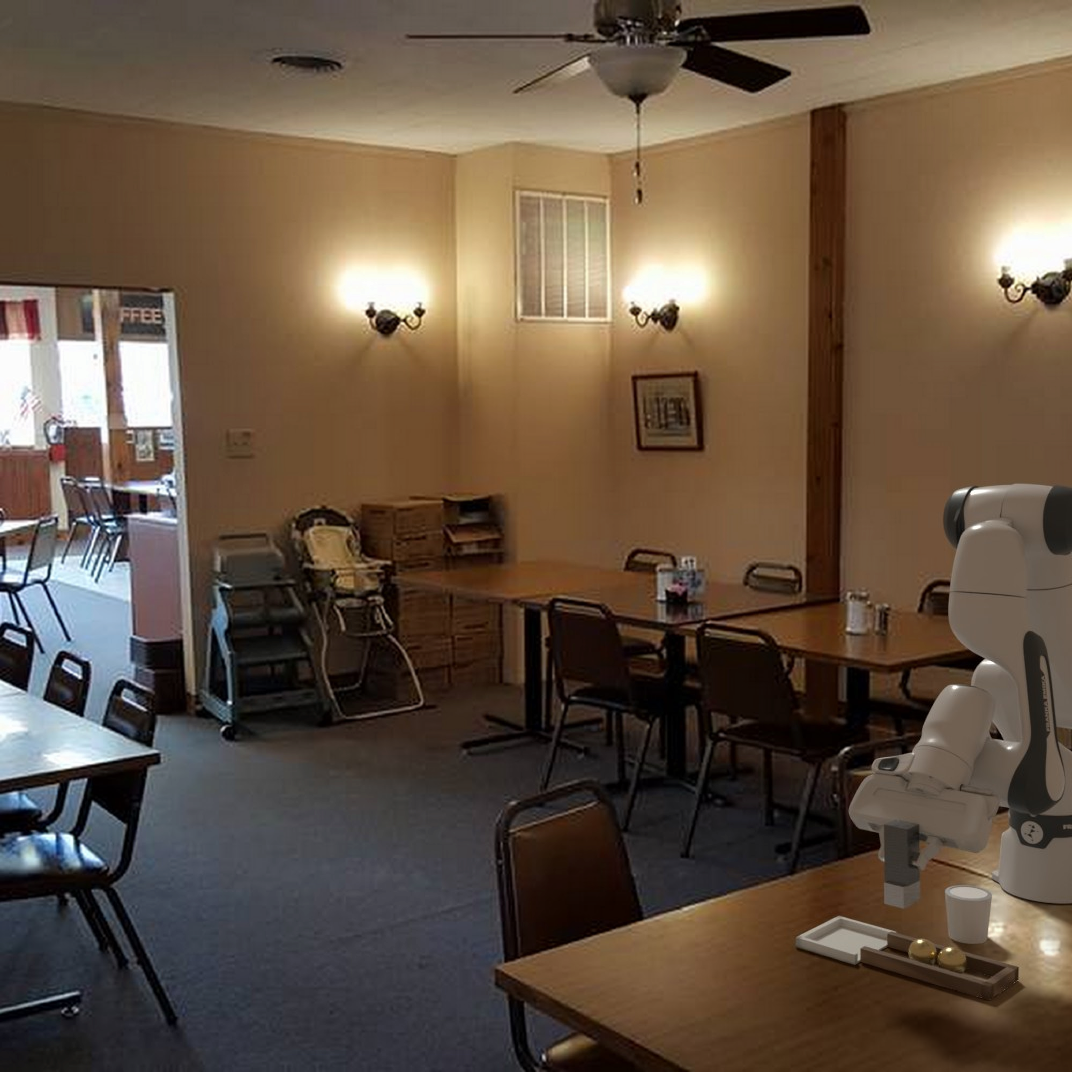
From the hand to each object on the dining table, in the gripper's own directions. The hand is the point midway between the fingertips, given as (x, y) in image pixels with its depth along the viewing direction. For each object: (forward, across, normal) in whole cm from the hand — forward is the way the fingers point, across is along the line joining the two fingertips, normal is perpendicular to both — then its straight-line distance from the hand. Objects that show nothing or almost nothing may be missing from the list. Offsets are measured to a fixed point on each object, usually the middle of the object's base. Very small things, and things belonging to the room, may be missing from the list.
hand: (899, 863), depth 182 cm
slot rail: (+7, -2, -17) cm, 19 cm away
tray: (+7, +13, -17) cm, 23 cm away
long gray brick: (+4, 0, -4) cm, 6 cm away
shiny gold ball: (+7, +1, -17) cm, 19 cm away
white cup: (-4, +2, -28) cm, 28 cm away
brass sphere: (+7, -4, -17) cm, 19 cm away
